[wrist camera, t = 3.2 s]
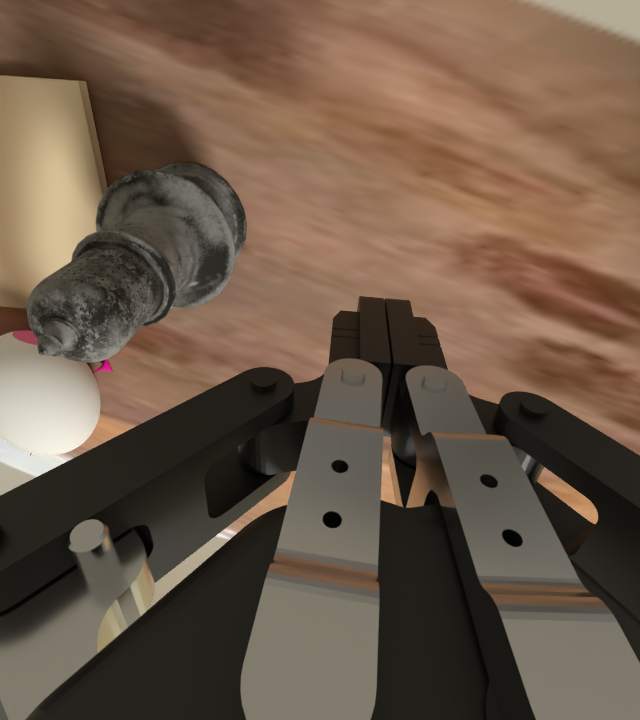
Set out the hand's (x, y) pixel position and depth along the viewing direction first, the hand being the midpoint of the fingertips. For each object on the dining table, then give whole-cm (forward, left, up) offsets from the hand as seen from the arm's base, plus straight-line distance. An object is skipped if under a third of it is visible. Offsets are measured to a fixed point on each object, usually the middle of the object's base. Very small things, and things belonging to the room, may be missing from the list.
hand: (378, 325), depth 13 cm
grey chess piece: (+9, 0, -9) cm, 13 cm away
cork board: (+18, 0, -9) cm, 20 cm away
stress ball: (+18, +10, -9) cm, 23 cm away
